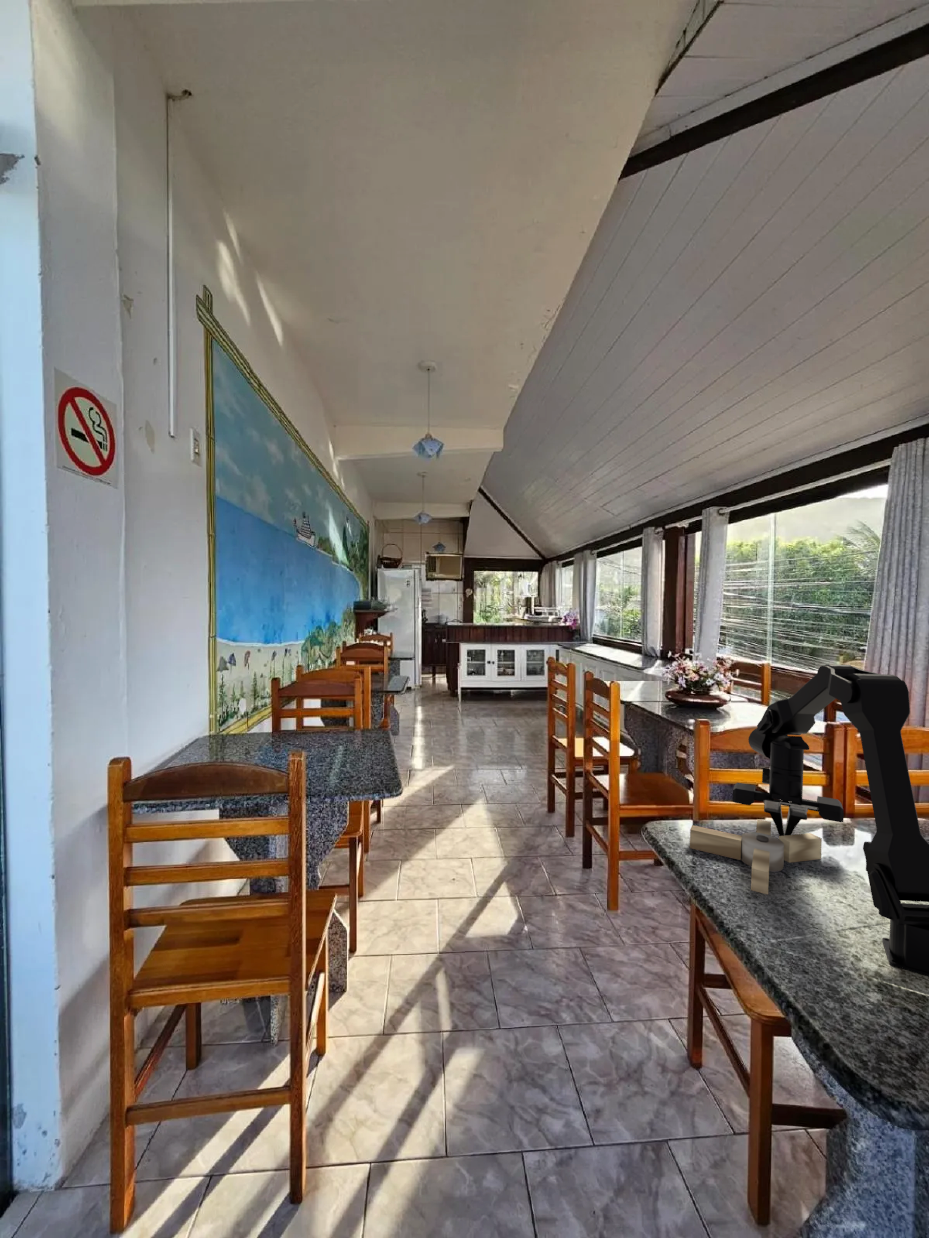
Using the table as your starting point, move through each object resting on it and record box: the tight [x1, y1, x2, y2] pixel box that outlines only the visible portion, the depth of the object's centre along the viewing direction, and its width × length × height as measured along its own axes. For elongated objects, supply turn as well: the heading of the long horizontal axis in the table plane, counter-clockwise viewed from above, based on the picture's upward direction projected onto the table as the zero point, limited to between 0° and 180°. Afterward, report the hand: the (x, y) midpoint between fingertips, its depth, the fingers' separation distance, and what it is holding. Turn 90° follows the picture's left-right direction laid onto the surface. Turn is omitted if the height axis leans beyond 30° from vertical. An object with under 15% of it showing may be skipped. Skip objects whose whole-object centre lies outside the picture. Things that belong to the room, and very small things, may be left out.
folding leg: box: [778, 832, 823, 863], centre depth 101 cm, size 8×2×4 cm, turn 104°
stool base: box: [689, 818, 785, 895], centre depth 101 cm, size 25×16×5 cm, turn 149°
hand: (784, 843), depth 105 cm, fingers closed
